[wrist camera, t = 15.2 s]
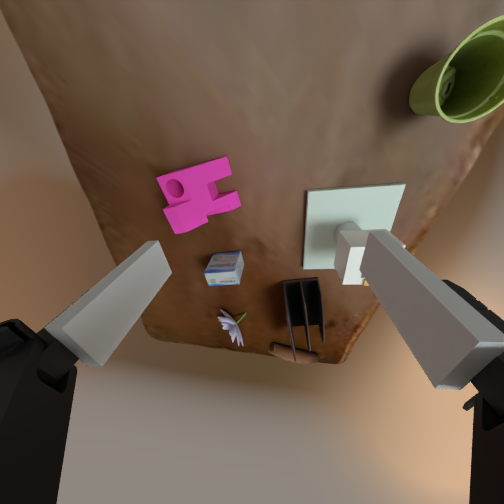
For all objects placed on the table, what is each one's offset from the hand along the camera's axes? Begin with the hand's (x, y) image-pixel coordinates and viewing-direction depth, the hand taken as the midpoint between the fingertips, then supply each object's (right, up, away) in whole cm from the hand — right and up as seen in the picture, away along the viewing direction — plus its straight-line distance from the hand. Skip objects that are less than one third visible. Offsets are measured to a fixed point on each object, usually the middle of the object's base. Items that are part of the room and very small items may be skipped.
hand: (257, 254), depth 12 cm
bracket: (-10, +14, +29) cm, 34 cm away
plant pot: (+28, +26, +17) cm, 42 cm away
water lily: (-7, -21, +51) cm, 56 cm away
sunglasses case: (+15, -39, +61) cm, 74 cm away
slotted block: (+20, +1, +24) cm, 32 cm away
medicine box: (-7, -1, +39) cm, 39 cm away
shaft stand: (+21, +5, +31) cm, 38 cm away
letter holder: (+15, -15, +45) cm, 50 cm away
